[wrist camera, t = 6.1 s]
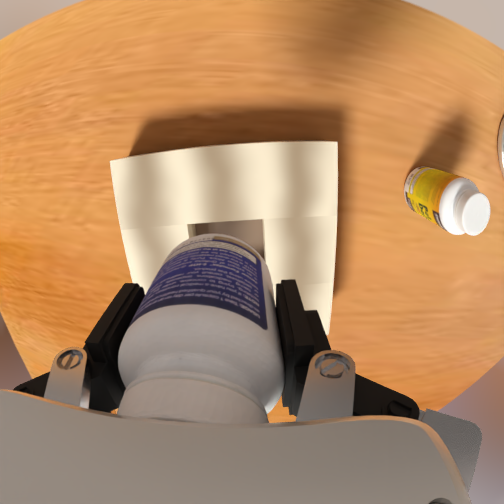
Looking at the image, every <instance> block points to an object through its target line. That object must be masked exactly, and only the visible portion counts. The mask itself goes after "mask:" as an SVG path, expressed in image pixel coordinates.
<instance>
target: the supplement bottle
mask: <svg viewBox="0 0 504 504" xmlns="http://www.w3.org/2000/svg"><path fill="white" fill-rule="evenodd" d="M404 196H405V200H406V202H407V204H408V206H409V207H410V208H411V209H412V210H413V211H415V212H416V213H418V214H420V215H421V216H423V217H425V218H427V219H428V220H430V221H432V222H433V223H435V224H437V225H438V226H440V227H442V228H443V229H445V230H446V231H448V232H450V233H452V234H455V235H461V234H464V233H467V234H469V235H478V234H479V233H481V232H482V231H483V230H484V229H485V227H486V225H487V223H488V221H489V217H490V204H489V201H488V199H487V197H486V196H485V195H484V194H482V193H480V192H479V190H478V188H477V187H476V185H475V184H474V183H473V182H472V181H470V180H469V179H466V178H464V177H460V176H457V175H454V174H451V173H448V172H444V171H441V170H438V169H434V168H431V167H425V166H423V167H418V168H416V169H414V170H413V171H412V172H411V173H410V174H409V176H408V177H407V179H406V182H405V186H404Z"/></svg>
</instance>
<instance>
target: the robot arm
mask: <svg viewBox="0 0 504 504" xmlns="http://www.w3.org/2000/svg"><path fill="white" fill-rule="evenodd" d="M498 156H499V163H500V167H501V171H502V174H503V177H504V117H503V120H502V122H501V125H500V129H499V135H498ZM144 297H145V292H144V288H143V287H140V286H139V284H138V283H125V284H124V285H123V287H122V288H121V289H120V291H119V292H118V294H117V295H116V296H115V298H114V299H113V301H112V302H111V304H110V305H109V306H108V308H107V309H106V311H105V312H104V314H103V315H102V317H101V318H100V320H99V321H98V323H97V324H96V326H95V327H94V329H93V330H92V332H91V333H90V335H89V336H88V338H87V339H86V341H85V343H86V344H85V346H84V347H83V349H82V348H79V347H70V348H67V349H64V350H62V351H61V352H59V353H58V354H57V355H56V357H55V358H54V360H53V364H52V367H51V371H50V372H48V373H46V374H43V375H41V376H39V377H36V378H34V379H32V380H30V381H27V382H25V383H23V384H20V385H19V386H17V387H15V388H14V390H4V389H0V504H472V503H471V500H470V497H469V495H468V491H469V488H470V485H471V481H472V477H473V474H474V471H475V467H476V463H477V459H478V454H479V450H480V445H481V441H482V433H481V431H480V428H479V427H478V426H477V425H476V424H475V423H472V422H470V421H467V420H463V419H460V418H456V417H453V416H449V415H446V414H443V413H439V412H436V411H433V410H430V409H426V410H425V411H422V410H419V407H418V405H417V404H416V403H415V401H414V400H413V399H411V398H409V397H408V396H405V395H403V394H401V393H398V392H396V391H394V390H391V389H389V388H387V387H384V386H382V385H380V384H378V383H375V382H373V381H371V380H369V379H366V378H364V377H362V376H360V375H358V374H356V373H355V362H354V361H353V359H352V358H351V357H350V356H349V355H347V354H345V353H343V352H341V351H336V350H331V348H330V345H329V342H328V339H327V336H326V333H325V330H324V328H323V325H322V322H321V319H320V316H319V314H318V311H317V310H304V307H303V303H302V300H301V296H300V293H299V290H298V287H297V283H296V280H295V279H287V280H281V283H278V284H276V313H277V320H278V327H279V332H280V338H281V344H282V351H283V358H284V366H285V384H284V389H283V392H282V403H283V407H289V415H295V416H296V417H297V418H296V422H282V423H261V424H211V423H190V422H176V421H165V420H155V419H147V418H139V417H132V416H125V415H119V414H116V411H115V409H117V408H119V406H120V403H121V400H122V398H123V396H124V392H125V390H126V387H125V385H124V383H123V381H122V379H121V376H120V373H119V368H118V353H119V348H120V345H121V342H122V340H123V337H124V335H125V333H126V331H127V329H128V327H129V325H130V323H131V321H132V319H133V317H134V315H135V313H136V312H137V310H138V308H139V306H140V304H141V302H142V300H143V299H144Z"/></svg>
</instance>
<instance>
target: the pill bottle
mask: <svg viewBox="0 0 504 504" xmlns="http://www.w3.org/2000/svg"><path fill="white" fill-rule="evenodd" d="M118 368H119V373H120V376H121V379H122V381H123V383H124V385H125V387H126V390H125V392H124V396H123V398H122V400H121V403H120V406H119V409H118V412H117V414H119V415H125V416H132V417H139V418H147V419H155V420H165V421H176V422H190V423H211V424H261V423H269V421H268V418H267V414H268V413H269V412H270V411H271V410H272V409H273V407H274V406H275V405H276V403H277V402H278V400H279V399H280V397H281V394H282V392H283V389H284V384H285V366H284V358H283V351H282V344H281V338H280V332H279V327H278V320H277V313H276V306H275V300H274V292H273V284H272V280H271V275H270V272H269V269H268V266H267V265H266V263H265V261H264V259H263V258H262V257H261V255H260V254H259V253H258V252H257V251H256V250H255V249H254V248H253V247H251V246H250V245H249V244H247V243H245V242H244V241H242V240H240V239H237V238H235V237H232V236H228V235H224V234H203V235H198V236H195V237H192V238H189V239H187V240H185V241H183V242H182V243H180V244H179V245H178V246H176V247H175V248H174V249H173V250H172V251H171V252H170V254H169V255H168V256H167V258H166V259H165V261H164V263H163V264H162V266H161V268H160V270H159V271H158V273H157V275H156V277H155V278H154V280H153V282H152V284H151V286H150V287H149V289H148V291H147V293H146V295H145V297H144V299H143V300H142V302H141V304H140V306H139V308H138V310H137V312H136V313H135V315H134V317H133V319H132V321H131V323H130V325H129V327H128V329H127V331H126V333H125V335H124V337H123V340H122V342H121V345H120V348H119V353H118Z"/></svg>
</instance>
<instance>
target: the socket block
mask: <svg viewBox="0 0 504 504" xmlns="http://www.w3.org/2000/svg"><path fill="white" fill-rule="evenodd" d="M110 167H111V174H112V181H113V188H114V195H115V201H116V207H117V212H118V218H119V223H120V228H121V233H122V238H123V243H124V248H125V252H126V256H127V261H128V265H129V269H130V273H131V277H132V281H133V283H138V284H139V286H140V287H143V288H144V292H145V295H146V293H147V291H148V289H149V287H150V286H151V284H152V282H153V280H154V278H155V277H156V275H157V273H158V271H159V270H160V268H161V266H162V264H163V263H164V261H165V259H166V258H167V256H168V255H169V254H170V252H171V251H172V250H173V249H174V248H175V247H176V246H178V245H179V244H180V243H182V242H183V241H185V240H187V239H189V238H192V237H195V236H198V235H203V234H224V235H228V236H232V237H235V238H237V239H240V240H242V241H244V242H245V243H247V244H249V245H250V246H251V247H253V248H254V249H255V250H256V251H257V252H258V253H259V254H260V255H261V257H262V258H263V259H264V261H265V263H266V265H267V266H268V269H269V272H270V275H271V280H272V284H273V292H274V300H275V306H276V284H278V283H281V280H287V279H295V280H296V283H297V287H298V290H299V293H300V296H301V300H302V303H303V307H304V310H317V311H318V314H319V316H320V319H321V322H322V325H323V328H324V330H325V333H326V335H329V326H330V317H331V307H332V296H333V284H334V271H335V255H336V235H337V206H338V144H337V142H334V141H323V140H302V141H265V142H247V143H232V144H220V145H209V146H199V147H190V148H182V149H174V150H166V151H159V152H153V153H146V154H140V155H134V156H128V157H124V158H120V159H116V160H112V161H110Z"/></svg>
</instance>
